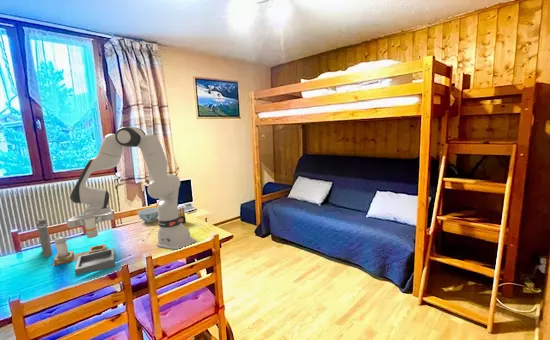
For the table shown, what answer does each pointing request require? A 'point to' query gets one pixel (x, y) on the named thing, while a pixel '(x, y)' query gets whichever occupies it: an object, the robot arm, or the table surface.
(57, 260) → the fuse block
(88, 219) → the cylinder
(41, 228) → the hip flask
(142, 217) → the chinaware
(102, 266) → the tray
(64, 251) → the cylinder
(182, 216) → the ammunition clip
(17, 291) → the table surface
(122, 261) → the table surface
